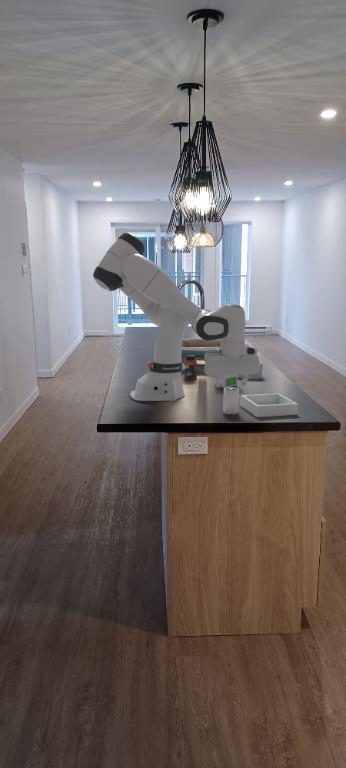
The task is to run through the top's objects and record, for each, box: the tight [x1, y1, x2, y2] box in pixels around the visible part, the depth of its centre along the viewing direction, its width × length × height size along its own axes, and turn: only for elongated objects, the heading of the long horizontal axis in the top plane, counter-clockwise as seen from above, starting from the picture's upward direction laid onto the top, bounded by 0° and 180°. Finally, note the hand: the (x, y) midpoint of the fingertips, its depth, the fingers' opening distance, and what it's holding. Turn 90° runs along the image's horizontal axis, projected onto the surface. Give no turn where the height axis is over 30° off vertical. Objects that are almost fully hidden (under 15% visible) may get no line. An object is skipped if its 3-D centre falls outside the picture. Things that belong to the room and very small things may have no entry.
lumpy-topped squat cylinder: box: [237, 360, 264, 380], centre depth 257 cm, size 10×13×9 cm
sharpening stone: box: [181, 346, 220, 373], centre depth 268 cm, size 25×8×11 cm, turn 80°
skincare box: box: [214, 375, 238, 389], centre depth 237 cm, size 8×7×16 cm
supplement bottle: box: [183, 355, 198, 381], centre depth 249 cm, size 6×6×11 cm
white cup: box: [222, 386, 240, 415], centre depth 196 cm, size 6×6×9 cm
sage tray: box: [239, 392, 299, 418], centre depth 200 cm, size 16×16×4 cm
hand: (231, 386), depth 194 cm, fingers open, 8 cm apart
